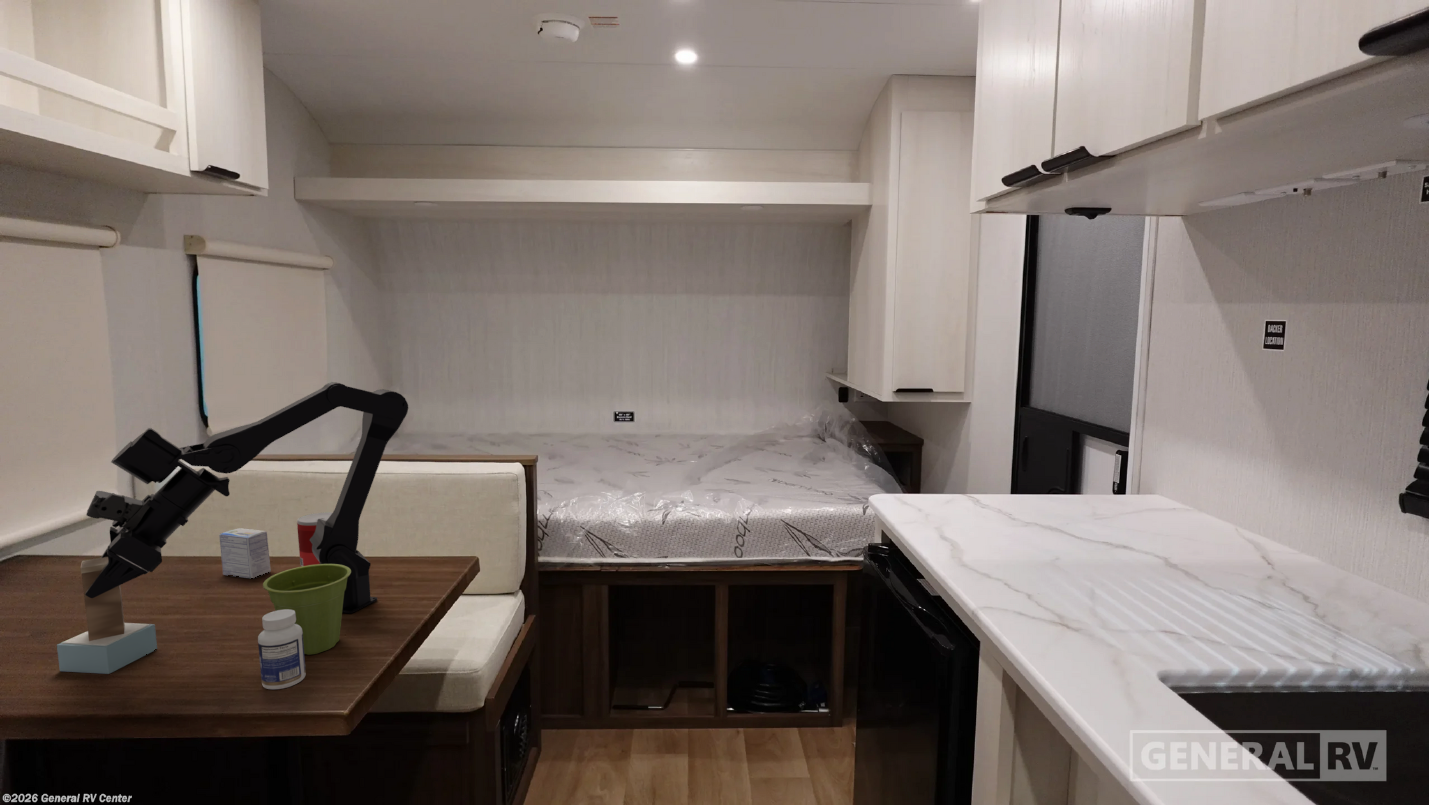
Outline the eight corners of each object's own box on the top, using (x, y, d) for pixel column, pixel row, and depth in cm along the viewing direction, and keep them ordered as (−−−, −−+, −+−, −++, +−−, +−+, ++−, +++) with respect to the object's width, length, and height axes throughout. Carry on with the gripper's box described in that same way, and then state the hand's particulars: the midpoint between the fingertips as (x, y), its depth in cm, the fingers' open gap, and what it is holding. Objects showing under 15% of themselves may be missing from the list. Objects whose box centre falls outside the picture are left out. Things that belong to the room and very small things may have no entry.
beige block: (125, 625, 113) (117, 555, 111) (124, 633, 109) (117, 562, 108) (90, 632, 110) (82, 560, 109) (88, 641, 107) (80, 568, 106)
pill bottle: (273, 673, 106) (268, 607, 104) (312, 671, 106) (307, 606, 105) (253, 692, 100) (247, 623, 99) (294, 690, 101) (289, 621, 100)
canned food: (326, 577, 145) (322, 523, 144) (291, 575, 147) (287, 521, 145) (352, 564, 152) (349, 513, 151) (319, 562, 154) (315, 511, 153)
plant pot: (249, 659, 110) (243, 586, 109) (312, 627, 121) (307, 561, 120) (314, 668, 107) (308, 593, 106) (372, 634, 118) (368, 566, 117)
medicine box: (271, 572, 148) (268, 530, 147) (251, 579, 144) (247, 536, 143) (242, 568, 151) (239, 527, 150) (222, 575, 147) (218, 533, 146)
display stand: (157, 649, 114) (154, 623, 113) (109, 673, 106) (105, 646, 105) (111, 646, 115) (108, 621, 114) (59, 671, 107) (56, 643, 106)
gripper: (125, 461, 117) (39, 542, 111) (123, 481, 102) (24, 575, 97) (190, 502, 122) (112, 581, 117) (197, 526, 108) (108, 617, 102)
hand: (89, 587), depth 108 cm, fingers open, 9 cm apart
